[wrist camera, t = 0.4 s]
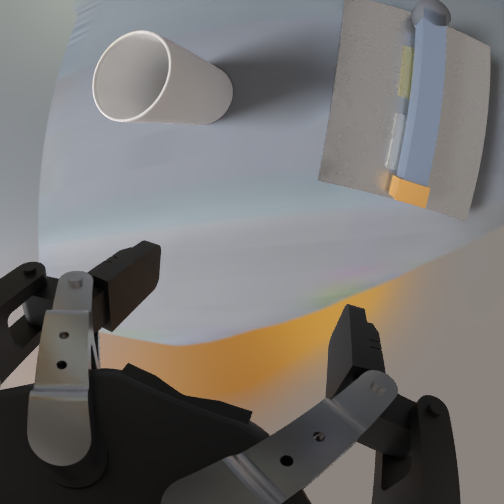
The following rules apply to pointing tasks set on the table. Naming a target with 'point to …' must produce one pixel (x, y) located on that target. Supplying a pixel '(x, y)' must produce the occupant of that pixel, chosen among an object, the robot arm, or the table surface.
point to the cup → (158, 83)
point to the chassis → (403, 108)
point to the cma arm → (423, 104)
